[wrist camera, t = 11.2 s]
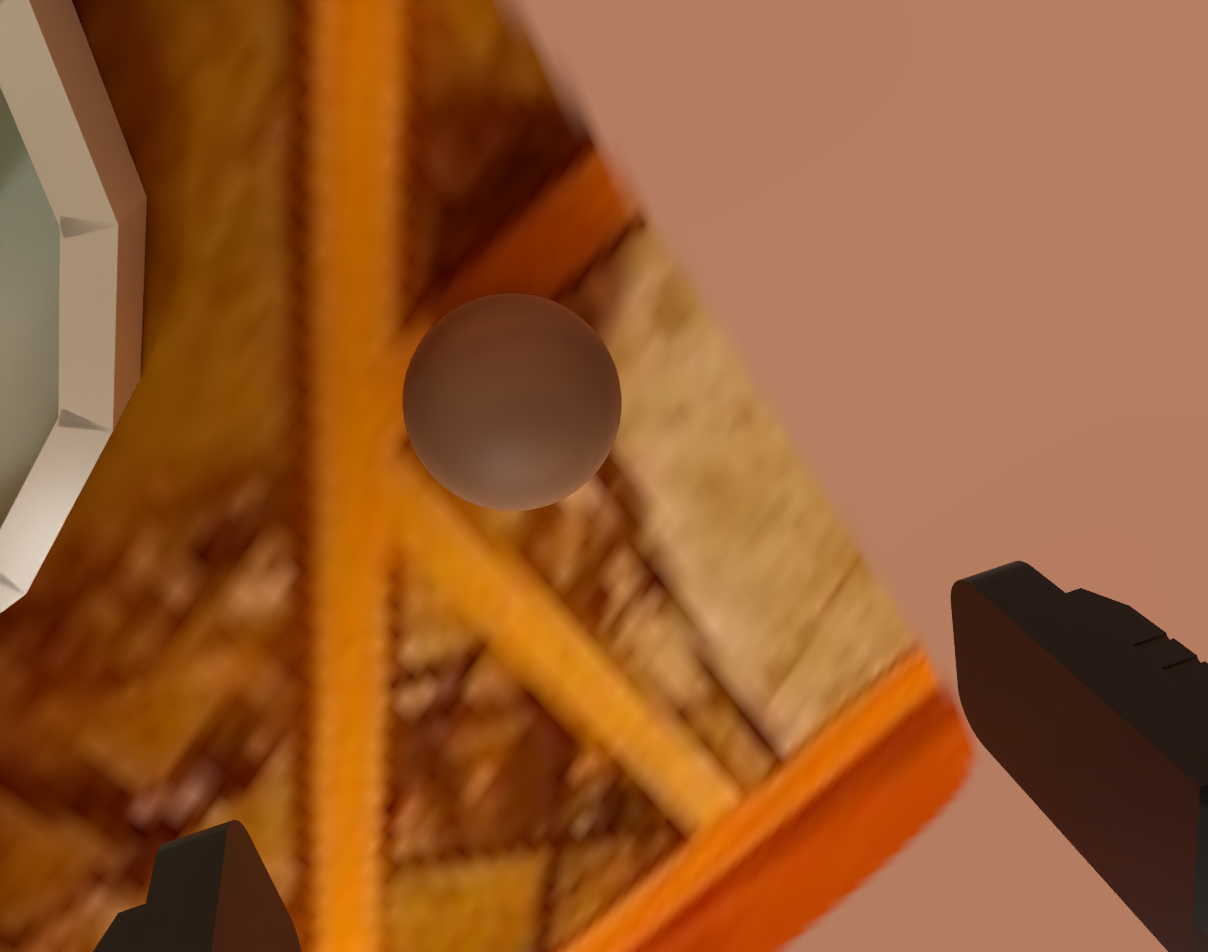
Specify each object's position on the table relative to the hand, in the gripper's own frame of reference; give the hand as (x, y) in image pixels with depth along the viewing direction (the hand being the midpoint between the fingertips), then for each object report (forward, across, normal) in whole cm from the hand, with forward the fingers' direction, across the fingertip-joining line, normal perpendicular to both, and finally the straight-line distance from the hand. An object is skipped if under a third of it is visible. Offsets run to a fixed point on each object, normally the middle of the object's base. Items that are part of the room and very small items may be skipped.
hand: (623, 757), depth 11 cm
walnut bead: (+16, -1, +1) cm, 16 cm away
